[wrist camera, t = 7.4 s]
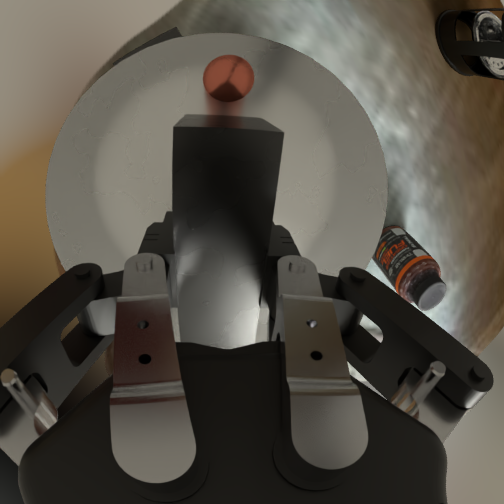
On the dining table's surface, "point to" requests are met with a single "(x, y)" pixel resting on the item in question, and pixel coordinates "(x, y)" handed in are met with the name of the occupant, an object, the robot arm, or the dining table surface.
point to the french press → (473, 42)
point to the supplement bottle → (409, 268)
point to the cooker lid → (217, 173)
